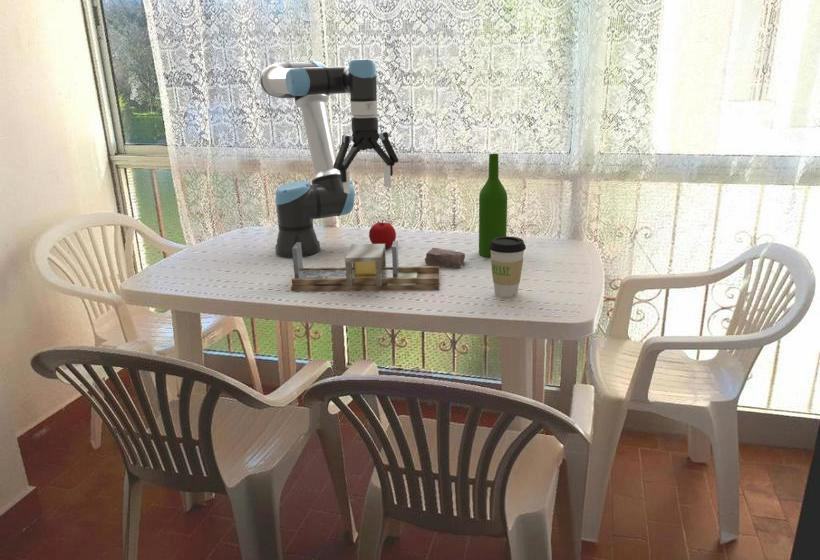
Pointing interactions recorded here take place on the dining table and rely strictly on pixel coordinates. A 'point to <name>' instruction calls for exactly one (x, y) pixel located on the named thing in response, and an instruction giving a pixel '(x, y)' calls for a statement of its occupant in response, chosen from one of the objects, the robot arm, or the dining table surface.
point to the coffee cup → (506, 264)
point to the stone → (444, 258)
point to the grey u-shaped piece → (360, 270)
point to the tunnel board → (371, 253)
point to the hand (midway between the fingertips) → (367, 190)
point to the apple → (382, 234)
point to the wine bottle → (492, 209)
